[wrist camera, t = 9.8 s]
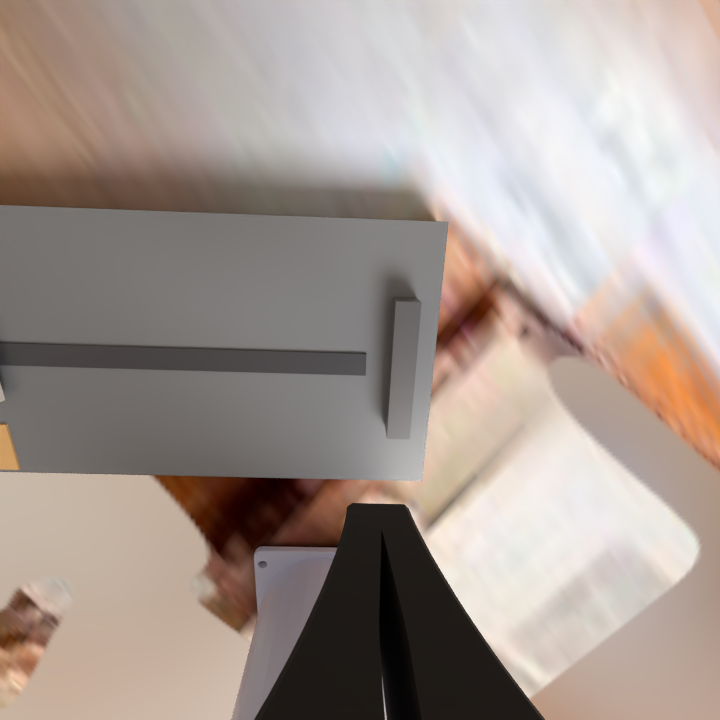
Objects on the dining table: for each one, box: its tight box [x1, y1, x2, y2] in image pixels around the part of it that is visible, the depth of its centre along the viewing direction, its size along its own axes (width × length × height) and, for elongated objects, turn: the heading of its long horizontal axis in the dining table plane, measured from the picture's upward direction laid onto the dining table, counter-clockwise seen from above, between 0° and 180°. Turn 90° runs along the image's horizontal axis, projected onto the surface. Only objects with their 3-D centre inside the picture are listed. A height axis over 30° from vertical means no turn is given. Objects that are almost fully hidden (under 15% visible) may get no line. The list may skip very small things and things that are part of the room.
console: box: [0, 205, 448, 481], centre depth 16 cm, size 12×28×3 cm, turn 88°
